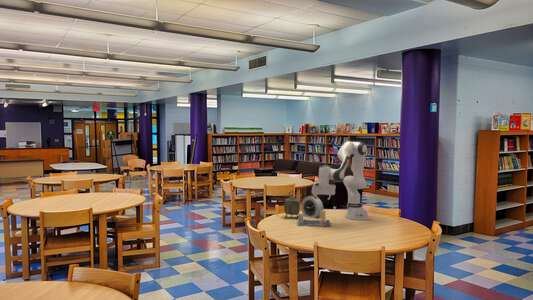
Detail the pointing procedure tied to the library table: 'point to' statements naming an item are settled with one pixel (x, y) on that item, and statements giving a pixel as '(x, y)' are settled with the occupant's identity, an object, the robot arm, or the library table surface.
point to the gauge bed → (309, 223)
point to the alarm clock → (311, 206)
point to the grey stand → (322, 218)
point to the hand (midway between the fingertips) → (323, 199)
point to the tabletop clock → (292, 205)
